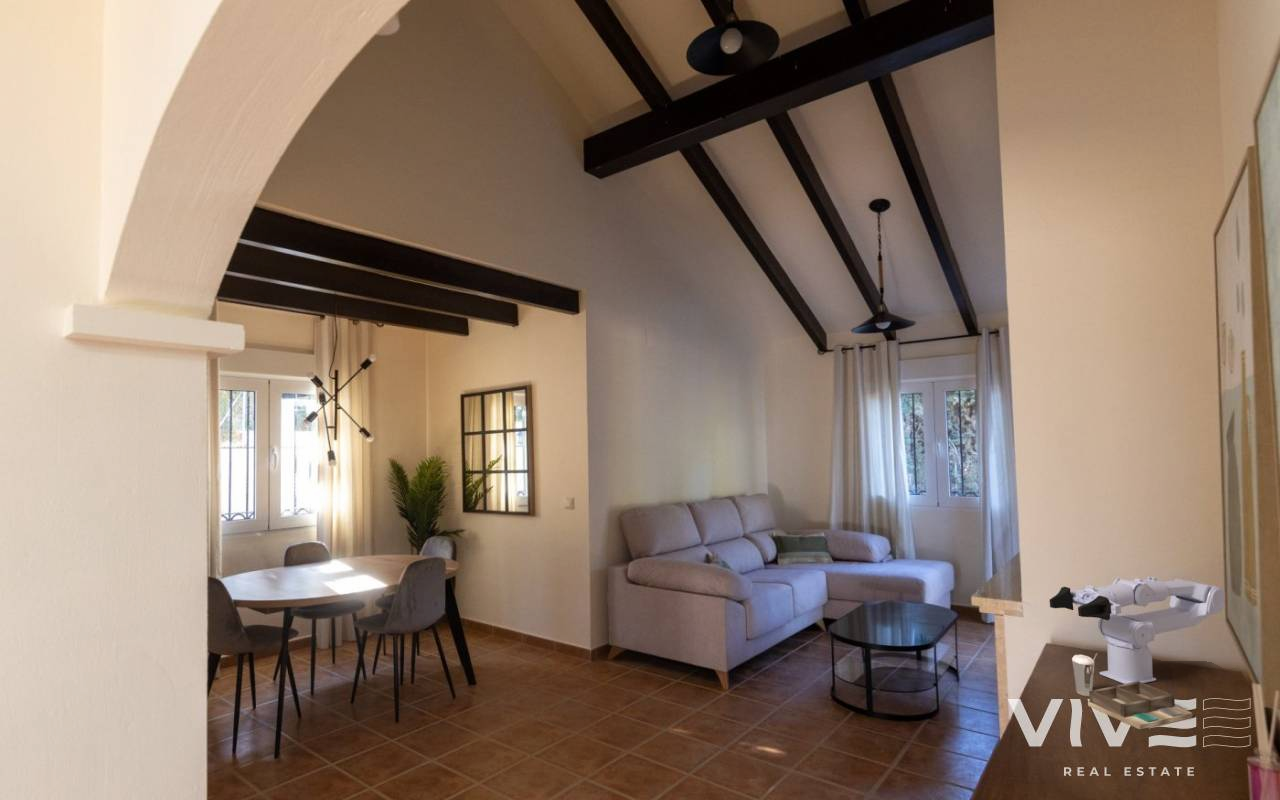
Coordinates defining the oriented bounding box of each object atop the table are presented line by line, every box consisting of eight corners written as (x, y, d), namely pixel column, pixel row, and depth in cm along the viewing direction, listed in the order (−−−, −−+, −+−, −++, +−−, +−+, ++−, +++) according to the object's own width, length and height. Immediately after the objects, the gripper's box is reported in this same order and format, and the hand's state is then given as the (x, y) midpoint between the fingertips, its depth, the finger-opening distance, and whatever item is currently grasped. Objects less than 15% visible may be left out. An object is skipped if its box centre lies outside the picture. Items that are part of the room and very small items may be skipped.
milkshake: (1102, 698, 158) (1101, 656, 158) (1078, 696, 159) (1076, 655, 159) (1093, 690, 163) (1092, 649, 163) (1069, 688, 164) (1068, 648, 164)
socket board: (1138, 695, 159) (1137, 680, 159) (1192, 717, 148) (1192, 701, 148) (1088, 705, 155) (1087, 690, 155) (1140, 729, 143) (1139, 713, 143)
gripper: (1077, 576, 174) (1037, 584, 170) (1132, 589, 160) (1091, 599, 156) (1079, 602, 174) (1040, 611, 170) (1135, 618, 160) (1094, 628, 156)
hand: (1064, 607), depth 163 cm, fingers open, 7 cm apart
